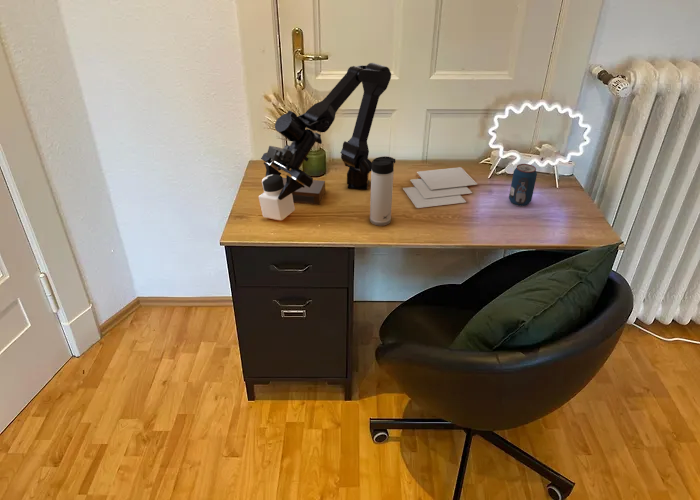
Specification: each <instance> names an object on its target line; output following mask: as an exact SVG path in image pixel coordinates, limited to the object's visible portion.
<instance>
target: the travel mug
mask: <svg viewBox="0 0 700 500" xmlns="http://www.w3.org/2000/svg"><path fill="white" fill-rule="evenodd" d="M371 162H372V169H371V171H370V172H371V173H370V200H369V201H370V203H369V222H370V223H371V224H372V225H373V226H374V225H375V226H379V227H384V226H388V225H389V224H390V223H391V221H392V206H393V190H394V189H393V187H394V173H395V172H394V171H395V169H394V168H395V164H396V158H393V157H392V156H385V155H384V156H378V157H375V158H373V160H372V161H371Z"/></svg>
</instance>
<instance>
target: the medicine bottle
mask: <svg viewBox="0 0 700 500" xmlns="http://www.w3.org/2000/svg"><path fill="white" fill-rule="evenodd" d="M265 176H266V175H265ZM265 176H264V177H263V178H262V179H261V184H262V190H263V189H264V190H263V192H262V193H261V194H260V195H258V201H259V206H260V209H261V214H262V217H263V218H265V219H271V220H275V221H280V222H281V221H283V220H284V219H286V218H287V217H288V216H290V215H291V214H292V213H293V212H295V211H296V208H295V203H294V202H293V196H292V193H291V194H290V195H288V196H286V197H285V198H283V199H282V200H280V199H278V197H279V195H280V193H281V191H282V189H283V187H284V183H283V178H284V177H283V175H282V176H281V175H276V174H273V175H268V176H266V177H265Z"/></svg>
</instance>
